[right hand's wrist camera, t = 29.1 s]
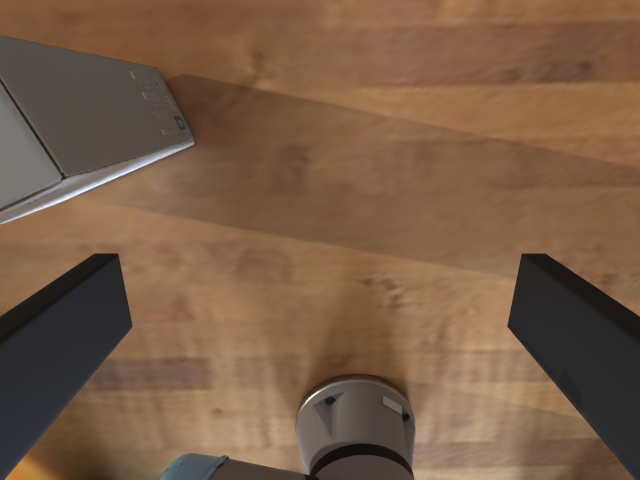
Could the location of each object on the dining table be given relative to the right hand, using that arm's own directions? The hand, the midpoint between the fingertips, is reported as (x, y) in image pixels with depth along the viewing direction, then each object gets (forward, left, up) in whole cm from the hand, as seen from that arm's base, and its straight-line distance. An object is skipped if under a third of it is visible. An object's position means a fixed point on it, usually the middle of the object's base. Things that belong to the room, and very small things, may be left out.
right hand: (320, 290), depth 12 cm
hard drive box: (-3, +21, -27) cm, 34 cm away
